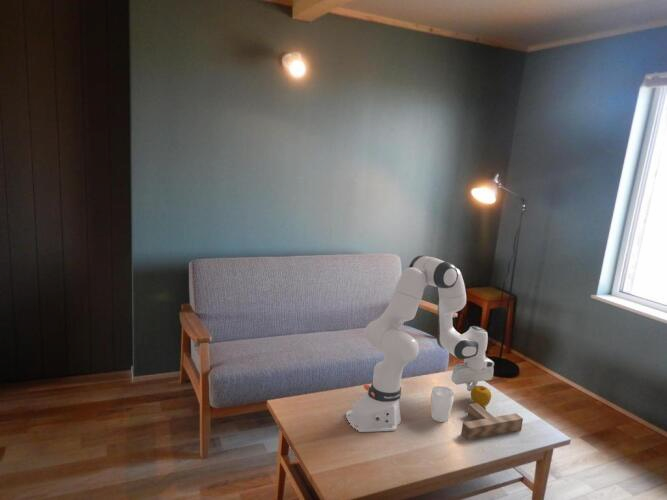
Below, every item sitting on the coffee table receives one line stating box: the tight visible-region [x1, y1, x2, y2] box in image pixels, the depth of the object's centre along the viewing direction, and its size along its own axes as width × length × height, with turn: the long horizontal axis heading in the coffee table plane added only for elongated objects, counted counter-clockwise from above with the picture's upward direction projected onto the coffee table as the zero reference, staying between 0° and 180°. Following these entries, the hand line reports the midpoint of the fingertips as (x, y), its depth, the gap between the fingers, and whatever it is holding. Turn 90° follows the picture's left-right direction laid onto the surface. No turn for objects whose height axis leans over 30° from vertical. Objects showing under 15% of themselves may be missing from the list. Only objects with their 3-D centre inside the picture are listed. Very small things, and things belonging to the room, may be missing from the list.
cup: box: [430, 385, 455, 423], centre depth 188 cm, size 9×9×12 cm
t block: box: [460, 402, 524, 441], centre depth 186 cm, size 26×15×5 cm, turn 110°
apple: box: [470, 385, 492, 408], centre depth 200 cm, size 9×8×9 cm
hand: (470, 390), depth 207 cm, fingers closed
